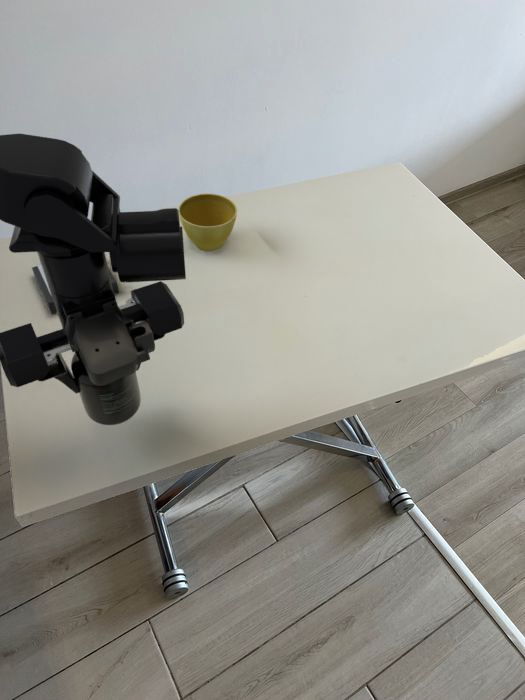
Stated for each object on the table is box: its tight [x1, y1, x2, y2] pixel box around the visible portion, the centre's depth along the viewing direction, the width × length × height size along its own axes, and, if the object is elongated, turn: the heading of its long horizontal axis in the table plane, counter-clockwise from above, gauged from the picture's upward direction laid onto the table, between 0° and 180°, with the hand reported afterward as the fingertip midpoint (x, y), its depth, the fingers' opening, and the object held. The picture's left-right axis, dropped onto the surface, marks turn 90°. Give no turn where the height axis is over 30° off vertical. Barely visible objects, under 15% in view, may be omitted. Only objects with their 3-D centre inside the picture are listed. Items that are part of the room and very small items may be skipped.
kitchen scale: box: [31, 262, 120, 315], centre depth 87 cm, size 11×10×3 cm
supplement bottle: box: [70, 351, 142, 426], centre depth 62 cm, size 7×7×12 cm
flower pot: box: [177, 193, 238, 252], centre depth 94 cm, size 10×10×7 cm
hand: (106, 379), depth 63 cm, fingers closed on supplement bottle, 7 cm apart
